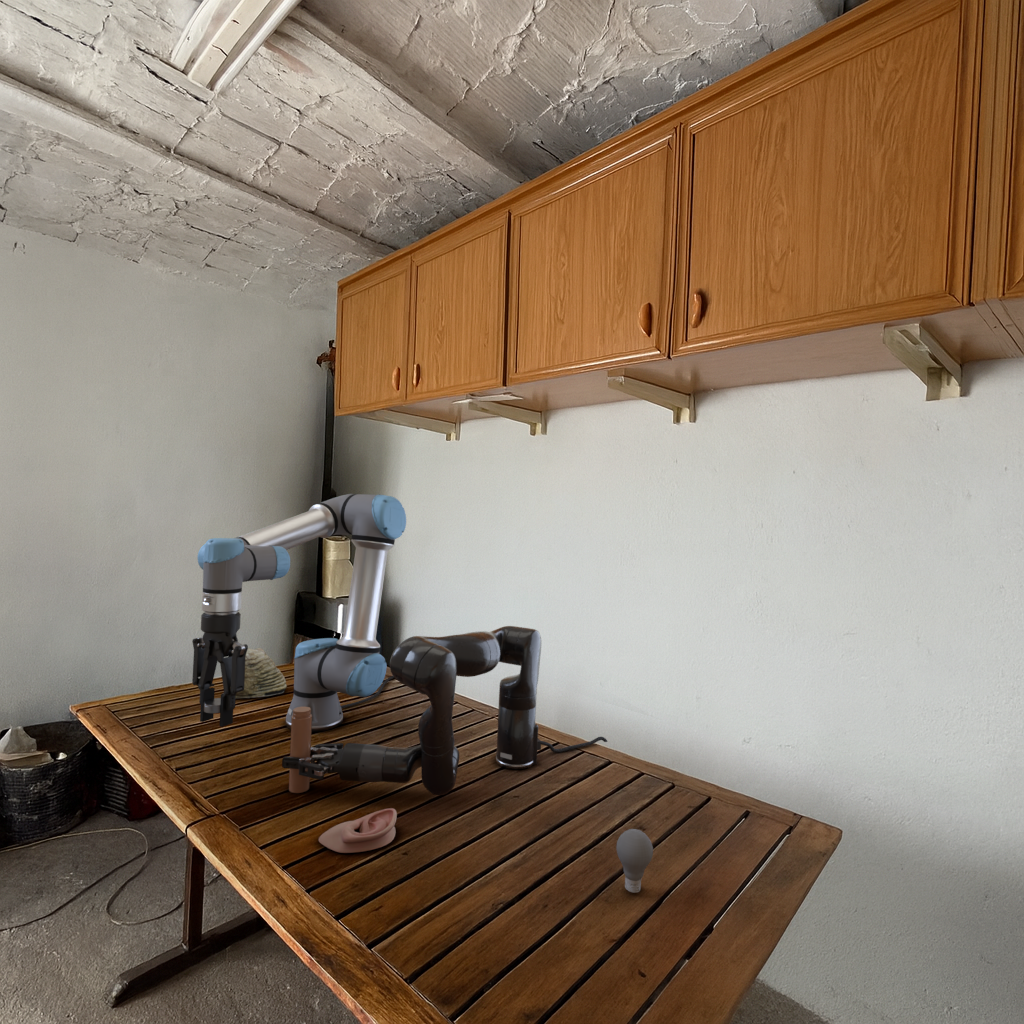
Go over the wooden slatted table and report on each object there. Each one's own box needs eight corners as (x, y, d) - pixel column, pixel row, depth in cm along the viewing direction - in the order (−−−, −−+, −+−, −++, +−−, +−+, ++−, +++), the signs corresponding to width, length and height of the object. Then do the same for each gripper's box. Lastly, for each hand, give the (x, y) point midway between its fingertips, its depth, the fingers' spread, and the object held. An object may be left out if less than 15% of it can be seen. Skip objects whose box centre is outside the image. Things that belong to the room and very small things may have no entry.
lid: (210, 705, 136) (211, 697, 136) (233, 706, 135) (234, 698, 135) (199, 712, 131) (199, 704, 131) (222, 714, 131) (223, 706, 131)
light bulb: (610, 879, 108) (613, 822, 108) (644, 879, 109) (647, 822, 109) (619, 902, 102) (622, 840, 102) (655, 901, 103) (658, 840, 103)
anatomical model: (310, 826, 114) (340, 797, 125) (309, 848, 114) (339, 817, 125) (379, 837, 111) (403, 806, 122) (378, 859, 111) (403, 827, 123)
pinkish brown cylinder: (299, 782, 140) (302, 704, 140) (313, 787, 138) (316, 708, 138) (284, 789, 136) (287, 709, 136) (298, 794, 134) (301, 713, 134)
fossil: (218, 695, 195) (220, 647, 195) (278, 685, 208) (279, 640, 207) (228, 703, 189) (230, 653, 188) (289, 692, 201) (290, 645, 201)
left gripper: (175, 609, 133) (170, 719, 133) (238, 619, 126) (233, 736, 126) (205, 605, 140) (201, 709, 140) (267, 614, 133) (262, 724, 133)
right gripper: (374, 733, 143) (300, 728, 144) (356, 758, 129) (273, 753, 130) (373, 766, 143) (299, 761, 144) (354, 795, 129) (272, 789, 130)
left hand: (216, 722), depth 133 cm, fingers closed on lid, 5 cm apart
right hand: (287, 757), depth 137 cm, fingers closed on pinkish brown cylinder, 4 cm apart
